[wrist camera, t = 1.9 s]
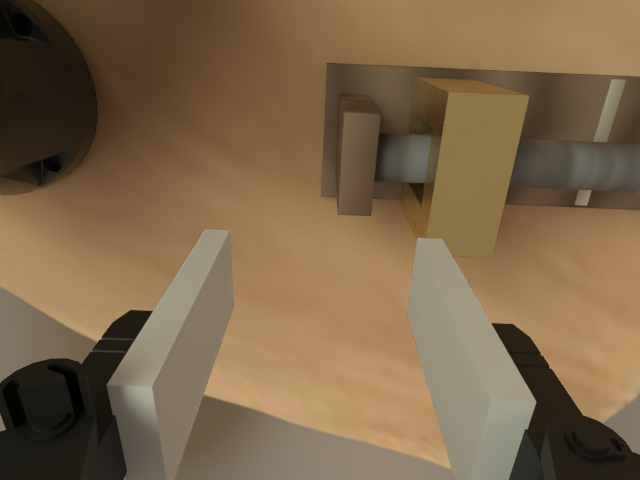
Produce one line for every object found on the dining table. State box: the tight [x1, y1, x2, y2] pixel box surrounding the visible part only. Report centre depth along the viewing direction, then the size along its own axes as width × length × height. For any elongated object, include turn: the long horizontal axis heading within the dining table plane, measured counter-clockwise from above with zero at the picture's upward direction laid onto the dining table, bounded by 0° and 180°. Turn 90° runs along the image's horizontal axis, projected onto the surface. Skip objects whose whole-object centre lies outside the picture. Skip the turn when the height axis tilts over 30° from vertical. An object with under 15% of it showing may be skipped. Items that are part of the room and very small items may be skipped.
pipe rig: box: [322, 63, 640, 216], centre depth 30 cm, size 30×10×10 cm, turn 88°
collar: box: [400, 77, 529, 258], centre depth 28 cm, size 4×9×9 cm, turn 178°
